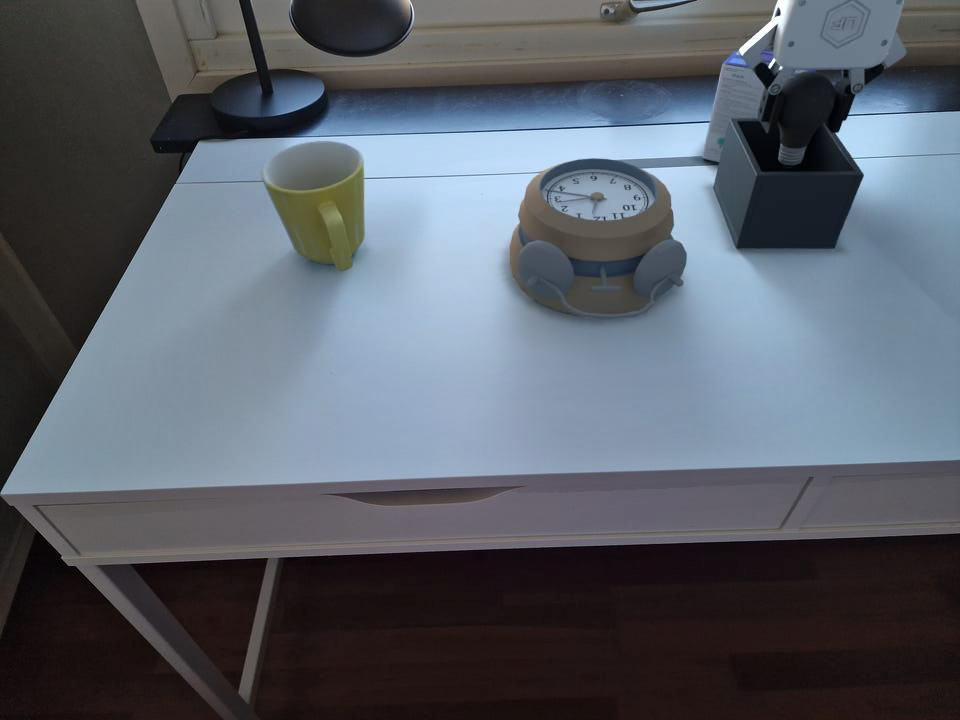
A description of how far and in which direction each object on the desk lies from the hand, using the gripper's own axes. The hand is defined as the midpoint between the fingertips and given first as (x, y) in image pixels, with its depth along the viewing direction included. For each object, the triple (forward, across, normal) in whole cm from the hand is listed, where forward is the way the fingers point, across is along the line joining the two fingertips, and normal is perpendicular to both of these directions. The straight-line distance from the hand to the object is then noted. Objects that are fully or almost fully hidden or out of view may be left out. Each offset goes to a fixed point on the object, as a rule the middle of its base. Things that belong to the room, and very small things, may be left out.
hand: (798, 125), depth 71 cm
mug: (+11, -49, -8) cm, 51 cm away
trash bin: (+11, 0, 0) cm, 11 cm away
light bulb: (+5, 0, 0) cm, 5 cm away
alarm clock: (+11, -21, -12) cm, 27 cm away
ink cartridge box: (+11, 0, +13) cm, 17 cm away
